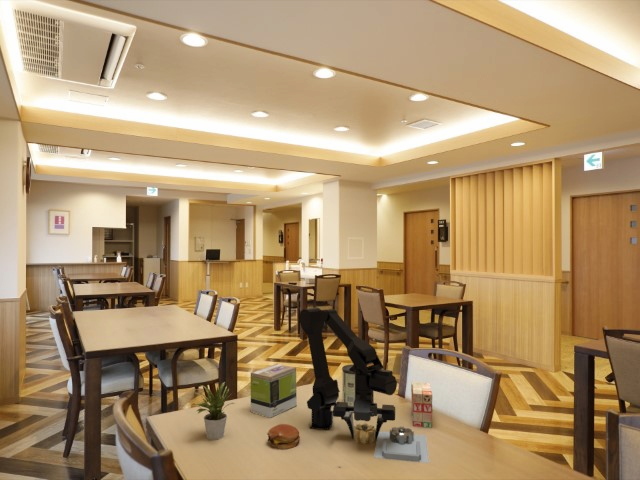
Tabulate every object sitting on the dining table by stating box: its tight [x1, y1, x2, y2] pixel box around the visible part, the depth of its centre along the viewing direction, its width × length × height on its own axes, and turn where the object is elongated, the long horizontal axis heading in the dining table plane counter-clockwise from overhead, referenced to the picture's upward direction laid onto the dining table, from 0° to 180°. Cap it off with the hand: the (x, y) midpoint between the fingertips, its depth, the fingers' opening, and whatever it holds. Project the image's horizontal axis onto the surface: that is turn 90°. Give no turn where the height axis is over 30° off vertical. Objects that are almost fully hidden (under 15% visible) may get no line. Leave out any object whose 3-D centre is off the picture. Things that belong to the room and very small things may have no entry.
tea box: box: [250, 363, 298, 419], centre depth 161 cm, size 15×10×15 cm, turn 144°
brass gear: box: [353, 423, 376, 445], centre depth 133 cm, size 7×7×5 cm
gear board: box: [373, 431, 430, 464], centre depth 129 cm, size 15×18×3 cm
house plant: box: [193, 381, 236, 441], centre depth 139 cm, size 14×14×16 cm
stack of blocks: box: [410, 381, 433, 429], centre depth 153 cm, size 21×6×12 cm, turn 170°
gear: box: [389, 426, 415, 445], centre depth 133 cm, size 7×7×3 cm
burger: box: [267, 423, 301, 450], centre depth 133 cm, size 10×9×5 cm
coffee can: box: [341, 363, 355, 407], centre depth 166 cm, size 10×10×14 cm
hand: (364, 439), depth 133 cm, fingers closed on brass gear, 7 cm apart
